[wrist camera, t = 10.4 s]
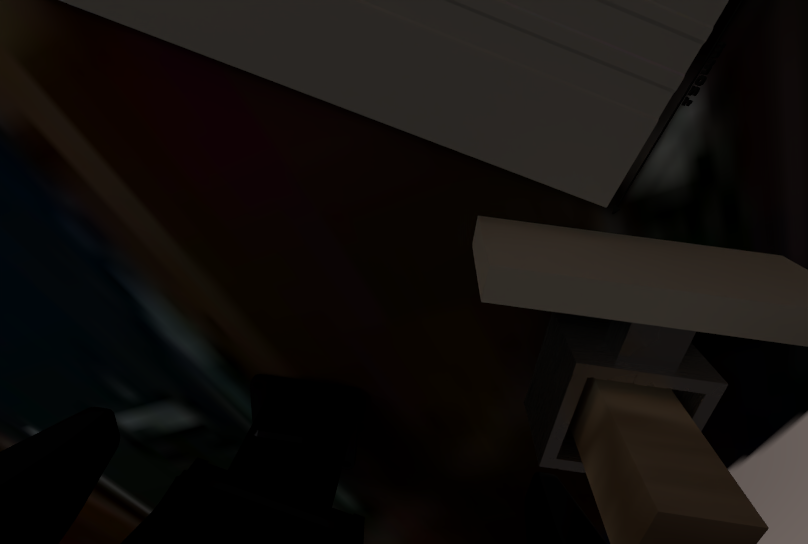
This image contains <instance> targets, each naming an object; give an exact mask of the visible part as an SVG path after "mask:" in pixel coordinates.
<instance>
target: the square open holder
mask: <svg viewBox="0 0 808 544" xmlns="http://www.w3.org/2000/svg"><path fill="white" fill-rule="evenodd" d="M695 333H696V331H690V330H683V329H676V328H668V327H661V326H654V325H646V324H639V323H632V322H625V321H617V320H610V319H603V318H595V317H588V316H581V315H574V314H566V313H559V312H552V314H551V317H550V320H549V323H548V327H547V330H546V333H545V336H544V339H543V343H542V346H541V349H540V352H539V356H538V359H537V362H536V365H535V369H534V372H533V375H532V378H531V381H530V385H529V388H528V391H527V394H526V398H525V401H524V405H525V409H526V413H527V417H528V422H529V426H530V430H531V434H532V438H533V443H534V447H535V451H536V455H537V460H538V464H539V466H541V467H548V468H554V469H561V470H568V471H575V472H582V473H586V472H585V469H584V466H583V463H582V460H581V457H580V455H579V452H578V449H577V446H576V443H575V440H574V437H573V434H572V432H571V429H570V426H569V424H570V421H571V419H572V416H573V414H574V411H575V408H576V406H577V403H578V401H579V398H580V395H581V393H582V390H583V388H584V385H585V382H586V380H587V377H589V378H596V379H603V380H610V381H617V382H624V383H631V384H638V385H645V386H652V387H659V388H667V389H671V390H672V391H673V393H674V394H675V396H676V397H677V398H678V400H679V401H680V403H681V404H682V405H683V407H684V408H685V410H686V411H687V413H688V414H689V415H690V417H691V418H692V420H693V421H694V423H695V424H696V425H697V427H698V428H699V430H700V431H702V429H703V428H704V426H705V424H706V422H707V421H708V419H709V417H710V415H711V414H712V412H713V410H714V409H715V407H716V405H717V403H718V402H719V400H720V398H721V396H722V395H723V393H724V391H725V390H726V388H727V386H728V383H727V382H726V381H725V380H724V379H723V378H722V377H721V375H720V374H719V373H718V372H717V371H716V370H715V369H714V368H713V366H712V365H711V364H710V363H709V362H708V361H707V360H706V359H705V357H704V356H703V355H702V354H701V353H700V352H699V351H698V350H697V349H696V347H695V346H694V345H693V344H692V343H691V341H692V339H693V337H694V335H695Z"/></svg>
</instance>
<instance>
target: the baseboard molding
mask: <svg viewBox="0 0 808 544" xmlns="http://www.w3.org/2000/svg"><path fill="white" fill-rule="evenodd" d="M60 1H62V2H65V3H68V4H70V5H73V6H75V7H78V8H81V9H83V10H86V11H89V12H91V13H94V14H97V15H99V16H102V17H104V18H107V19H110V20H112V21H115V22H118V23H120V24H123V25H126V26H128V27H131V28H134V29H136V30H139V31H141V32H144V33H147V34H149V35H152V36H155V37H157V38H160V39H163V40H165V41H168V42H170V43H173V44H176V45H178V46H181V47H184V48H186V49H189V50H192V51H194V52H197V53H199V54H202V55H205V56H207V57H210V58H213V59H215V60H218V61H221V62H223V63H226V64H229V65H231V66H234V67H236V68H239V69H242V70H244V71H247V72H250V73H252V74H255V75H258V76H260V77H263V78H265V79H268V80H271V81H273V82H276V83H279V84H281V85H284V86H287V87H289V88H292V89H294V90H297V91H300V92H302V93H305V94H308V95H310V96H313V97H316V98H318V99H321V100H323V101H326V102H329V103H331V104H334V105H337V106H339V107H342V108H345V109H347V110H350V111H353V112H355V113H358V114H360V115H363V116H366V117H368V118H371V119H374V120H376V121H379V122H382V123H384V124H387V125H389V126H392V127H395V128H397V129H400V130H403V131H405V132H408V133H411V134H413V135H416V136H418V137H421V138H424V139H426V140H429V141H432V142H434V143H437V144H440V145H442V146H445V147H448V148H450V149H453V150H455V151H458V152H461V153H463V154H466V155H469V156H471V157H474V158H477V159H479V160H482V161H484V162H487V163H490V164H492V165H495V166H498V167H500V168H503V169H506V170H508V171H511V172H513V173H516V174H519V175H521V176H524V177H527V178H529V179H532V180H535V181H537V182H540V183H543V184H545V185H548V186H550V187H553V188H556V189H558V190H561V191H564V192H566V193H569V194H572V195H574V196H577V197H579V198H582V199H585V200H587V201H590V202H593V203H595V204H598V205H601V206H603V207H606V208H607V206H608V204H609V203H610V201H611V199H612V198H613V196H614V194H615V193H616V191H617V189H618V188H619V186H620V184H621V183H622V181H623V179H624V178H625V176H626V174H627V173H628V171H629V169H630V168H631V166H632V164H633V163H634V161H635V159H636V158H637V156H638V154H639V152H640V151H641V149H642V147H643V146H644V144H645V142H646V141H647V139H648V137H649V136H650V134H651V132H652V131H653V129H654V127H655V126H656V124H657V122H658V119H659V117H660V115H661V114H662V112H663V110H664V109H665V107H666V105H667V104H668V102H669V100H670V99H671V97H672V95H673V93H674V92H676V90H677V89H678V87H679V85H680V84H681V82H682V80H683V79H684V76H685V73H686V72H687V70H688V68H689V67H690V65H691V63H692V62H693V60H694V58H695V57H696V55H697V53H698V51H699V50H700V48H701V46H702V45H703V44H704V43H705V42H706V40H707V39H708V37H709V35H710V33H711V32H712V30H713V26H714V25H715V23H716V21H717V20H718V18H719V16H720V15H721V13H722V11H723V9H724V8H725V6H726V4H727V3H728V1H729V0H60ZM742 2H743V0H741V2H740V3H739V5H738V7H737V8H736V10H735V11H734V13H733V15H732V16H731V18H730V20H729V21H728V23H727V25H726V26H725V28H724V30H723V31H722V33H721V35H720V36H719V38H718V40H717V41H716V43H715V44H714V46H713V48H712V49H711V51H710V53H709V54H708V56H707V58H706V59H705V61H704V63H703V64H702V66H701V68H700V69H699V71H698V72H697V74H696V76H695V77H694V79H693V81H692V82H691V84H690V86H689V87H688V89H687V91H686V92H685V94H684V96H683V97H682V99H681V100H680V102H679V104H678V105H677V107H676V109H675V110H674V112H673V114H672V115H671V117H670V119H669V120H668V122H667V124H666V125H665V127H664V129H663V130H662V132H661V133H660V135H659V137H658V138H657V140H656V142H655V143H654V145H653V147H652V148H651V150H650V152H649V153H648V155H647V157H646V158H645V160H644V161H643V163H642V165H641V166H640V168H639V170H638V171H637V173H636V175H635V176H634V178H633V180H632V181H631V183H630V185H629V186H628V188H627V190H626V191H625V193H624V194H623V196H622V198H621V199H620V201H619V203H618V204H617V206H615V205H614V206H613V212H612V214H614V213H615V212H617V211H618V210H620V209H619V208H618V206H619V204H620V202H621V201H622V199H623V198H624V196H625V194H626V193H627V191H628V189H629V188H630V186H631V184H632V183H633V181H634V179H635V178H636V176H637V175H638V173H639V171H640V170H641V168H642V166H643V165H644V163H645V161H646V160H647V158H648V156H649V155H650V153H651V152H652V150H653V148H654V147H655V145H656V143H657V142H658V140H659V138H660V137H661V135H662V133H663V132H664V130H665V129H666V127H667V125H668V124H669V122H670V120H671V119H672V117H673V115H674V114H675V112H676V110H677V109H678V107H679V106H680V104H681V102H682V101H683V99H684V97H685V96H686V94H687V92H688V91H689V89H690V87H691V86H692V84H693V83H694V81H695V79H696V78H697V76H698V74H699V73H700V71H701V69H702V68H703V66H704V64H705V63H706V61H707V60H708V58H709V56H710V55H711V53H712V51H713V50H714V48H715V46H716V45H717V43H718V41H719V40H720V38H721V37H722V35H723V33H724V32H725V30H726V28H727V27H728V25H729V23H730V22H731V20H732V18H733V17H734V15H735V14H736V12H737V10H738V9H739V7H740V5H741V4H742ZM718 46H721V47H720V48H716V49H715V50H714V51H715V52H717V53H716V54H712V55H711V57H712V58H718V57H719V55H720V53H721V52H722V50H723V48H724V47H725V46H726V43H725V42H719V44H718ZM715 62H716V60H714V59H709V60H708V63H710V65H705V67H704V68H705V69H707V70H706V71H702V72H701V73H700V74H705V75H708V73H709V71H710V70H711V68H712V66H713V65H714V63H715ZM706 79H707V77H706V76H703V75H701V76H699V77H698V78H697V80H696V81H695V85H698V86H701V85H703V84H704V82H705V81H706ZM700 80H702V81H701V82H699V81H700ZM699 90H700V88H699V87H695V86H692V88H691V90H690V91H689V93H688V95H690V96H691V95H694V96H696V95H697V94H698V92H699ZM688 99H689V98H688V97H686V98H685V99H684V101H683V103H682V104H681V105H684V106H685V104H686V103H687V104H686V106H689V105H690V104H691V103H692V102H693V101H692V100H688Z"/></svg>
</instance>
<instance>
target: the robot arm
mask: <svg viewBox="0 0 808 544" xmlns="http://www.w3.org/2000/svg"><path fill="white" fill-rule="evenodd" d="M258 382H259V383H261V384H259V383H258ZM250 392H251V407H252V422H253V424H252V426H251V428H250V430H249V431H248V433H247V435H246V437H245V439H244V441H243V443H242V445H241V446H240V448H239V450H238V452H237V454H236V456H235V458H234V460H233V461H232V463H231V465H230V467H229V469H228V470H225V469H222V468H220V467H217V466H214V465H211V464H208V461H206V460H203V459H201V458H198V457H197V459H196V460H195V461H194V462H193V464H192V465H191V466H190V468H189V469H188V470H184V471H183V472H182V474H181V475H180V476H177V477H176V478H175V480H174V481H173V483H172V484H171V486H170V488H169V489H168V491H167V492H166V494H165V495H164V497H163V498H162V500H161V501H160V502H159V504H158V505H157V506H156V507H155V509H154V510H153V511H152V512H151V513H150V514H149V515H148V516H147V517H146V518H145V519H144V520H143V521H142V522H141V523H140V524H139V525H138V527H137V528H136V529H135V530H134V531H133V532H132V533H131V534H130V535H129V536H128V537H127V538H126V539H125V540H124V541H123V542H122V543H121V544H363V540H364V519H365V518H364V517H363V516H360V515H357V514H354V515H351V514H348V513H346V512H343V511H340V510H337V509H334V508H332V505H333V501H334V498H335V494H336V490H337V486H338V482H339V478H340V474H341V470H342V469H346V470H350V469H352V468H353V467H354V465H355V460H356V449H357V437H358V425H359V413H360V401H361V393H360V391H359V390H357V389H356V388H352V387H345V386H338V385H331V384H324V383H317V382H310V381H303V380H296V379H289V378H282V377H275V376H268V375H261V374H257V375H255V376H254V377H253V379H252V380H251V382H250ZM350 396H354V397H353V398H352V397H350ZM119 441H120V434H119V430H118V426H117V422H116V418H115V415H114V412H113V411H112V410H111V409H107V408H100V407H90V408H87V409H85V410H83V411H81V412H79V413H77V414H75V415H73V416H71V417H69V418H67V419H65V420H63V421H61V422H59V423H57V424H55V425H53V426H51V427H49V428H47V429H45V430H43V431H41V432H39V433H37V434H35V435H33V436H31V437H29V438H27V439H25V440H23V441H21V442H19V443H17V444H15V445H13V446H11V447H9V448H7V449H5V450H3V451H1V452H0V544H59V542H60V541H61V539H62V538H63V536H64V535H65V534H66V532H67V531H68V529H69V528H70V526H71V525H72V523H73V522H74V520H75V519H76V517H77V516H78V514H79V512H80V511H81V509H82V508H83V506H84V504H85V503H86V501H87V499H88V497H89V496H90V494H91V492H92V491H93V489H94V487H95V485H96V484H97V482H98V480H99V479H100V477H101V475H102V473H103V472H104V470H105V468H106V467H107V465H108V463H109V461H110V460H111V458H112V456H113V455H114V453H115V451H116V449H117V447H118V445H119ZM524 508H525V522H526V536H527V544H607V543H606V542H605V540H604V539H603V538H602V536H601V535H600V533H599V532H598V531H597V529H596V528H595V527H594V525H593V524H592V523H591V521H590V520H589V519H588V517H587V516H586V515H585V513H584V512H583V511H582V509H581V508H580V507H579V505H578V504H577V503H576V501H575V500H574V499H573V497H572V496H571V495H570V493H569V492H568V491H567V489H566V488H565V487H564V485H563V484H562V482H561V481H560V480H559V479H558V477H557V476H555V475H553V474H549V473H542V472H536V473H535V474H534V475H533V478H532V480H531V483H530V486H529V489H528V491H527V494H526V497H525V507H524Z"/></svg>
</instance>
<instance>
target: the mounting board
mask: <svg viewBox="0 0 808 544" xmlns="http://www.w3.org/2000/svg"><path fill="white" fill-rule="evenodd" d="M472 247H473V253H474V260H475V266H476V272H477V279H478V285H479V291H480V298H481V302H486V303H493V304H501V305H508V306H515V307H522V308H530V309H537V310H544V311H552V312H559V313H566V314H574V315H581V316H588V317H595V318H603V319H610V320H617V321H625V322H632V323H639V324H646V325H654V326H661V327H668V328H676V329H683V330H690V331H698V332H705V333H712V334H719V335H727V336H734V337H741V338H749V339H756V340H763V341H770V342H778V343H785V344H792V345H800V346H807V347H808V270H807V269H805V268H803V267H801V266H800V265H798V264H796V263H794V262H792V261H791V260H789V259H787V258H785V257H784V256H781V255H773V254H766V253H758V252H751V251H743V250H735V249H728V248H720V247H713V246H705V245H697V244H690V243H682V242H675V241H667V240H659V239H652V238H644V237H637V236H629V235H621V234H614V233H606V232H598V231H591V230H583V229H576V228H568V227H560V226H553V225H545V224H538V223H530V222H522V221H515V220H507V219H500V218H492V217H484V216H478V218H477V223H476V228H475V233H474V238H473V244H472Z"/></svg>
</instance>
